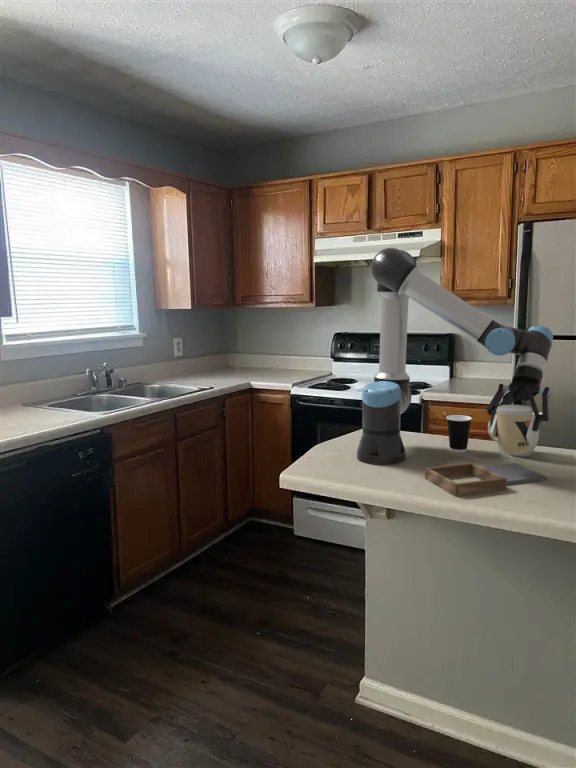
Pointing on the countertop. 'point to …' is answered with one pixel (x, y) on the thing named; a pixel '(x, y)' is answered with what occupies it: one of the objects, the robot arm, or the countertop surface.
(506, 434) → the coffee cup
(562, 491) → the countertop surface
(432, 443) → the countertop surface
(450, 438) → the dixie cup
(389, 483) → the countertop surface
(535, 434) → the pitcher
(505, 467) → the rubber mat
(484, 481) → the cup holder
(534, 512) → the countertop surface
